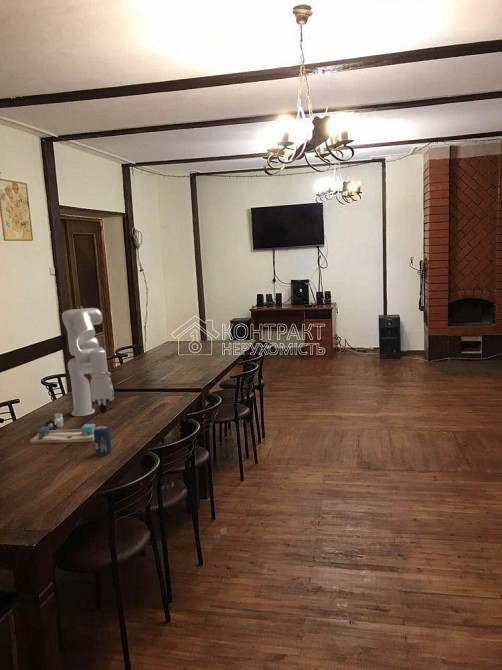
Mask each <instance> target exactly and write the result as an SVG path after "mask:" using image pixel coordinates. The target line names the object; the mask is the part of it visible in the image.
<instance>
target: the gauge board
mask: <svg viewBox="0 0 502 670" xmlns="http://www.w3.org/2000/svg"><path fill="white" fill-rule="evenodd" d="M49 429H50V427H49V425H48V426H47V427H44V426H42V427H40V428H39V429H38V433H37V434H36V435H35V436H34V437H33V438H31V439H30V440H29V444H30V445H33V444H34V445H35V444H54V443H56V444H57V443H59V444H60V443H61V444H62V443H84V442H86V443H87V442H94V433H93V434H87V435H86V436H85V435H82V428H75V429H74V428H73V429H71V428H70V429H56V430H49Z"/></svg>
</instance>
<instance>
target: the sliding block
mask: <svg viewBox="0 0 502 670" xmlns="http://www.w3.org/2000/svg"><path fill="white" fill-rule="evenodd" d="M95 427H96V424H95V423H85V424H83V426H82V427H81V429H82V435H85V436H86V435H87V434H93V433H94V430H95Z"/></svg>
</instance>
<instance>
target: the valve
mask: <svg viewBox="0 0 502 670" xmlns="http://www.w3.org/2000/svg"><path fill="white" fill-rule="evenodd" d="M44 423H45V424H44V425H43V427H47V426H49V430H57V428H61V427H63V426H64V417H63V413H61V412H58V413H55V414H54V419H53V420H52V419H49V420H45V422H44Z"/></svg>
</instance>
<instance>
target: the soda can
mask: <svg viewBox="0 0 502 670" xmlns="http://www.w3.org/2000/svg"><path fill="white" fill-rule="evenodd" d="M93 442H94V450H95V453H96V454H97V456H107V455H110V454H111V452H112V441H111V429H110V428H109V425H107V424H101V425H97V426H95V430H94V440H93Z"/></svg>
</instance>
